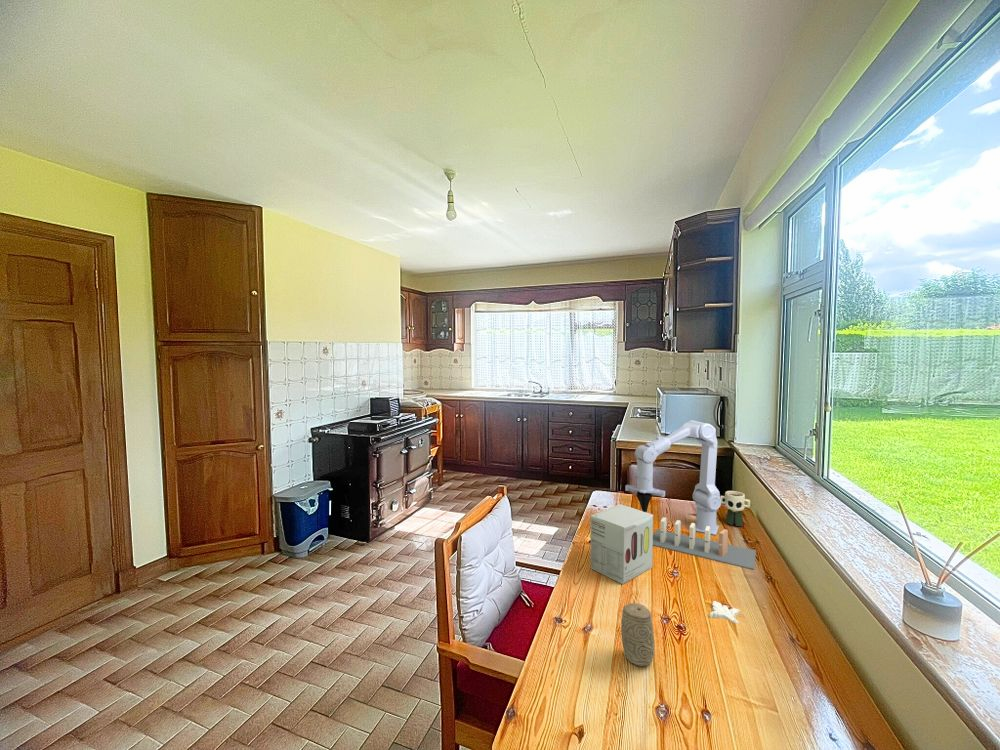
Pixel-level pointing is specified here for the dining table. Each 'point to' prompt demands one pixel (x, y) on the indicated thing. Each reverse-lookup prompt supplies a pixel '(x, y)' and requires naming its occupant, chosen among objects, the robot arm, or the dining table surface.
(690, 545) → the tile
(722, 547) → the tile end
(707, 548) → the tile
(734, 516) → the character mug
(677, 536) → the tile
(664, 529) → the tile
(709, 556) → the mat
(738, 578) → the dining table surface
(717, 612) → the acanthus leaf ornament
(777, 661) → the dining table surface
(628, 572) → the supplement box
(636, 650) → the carving
